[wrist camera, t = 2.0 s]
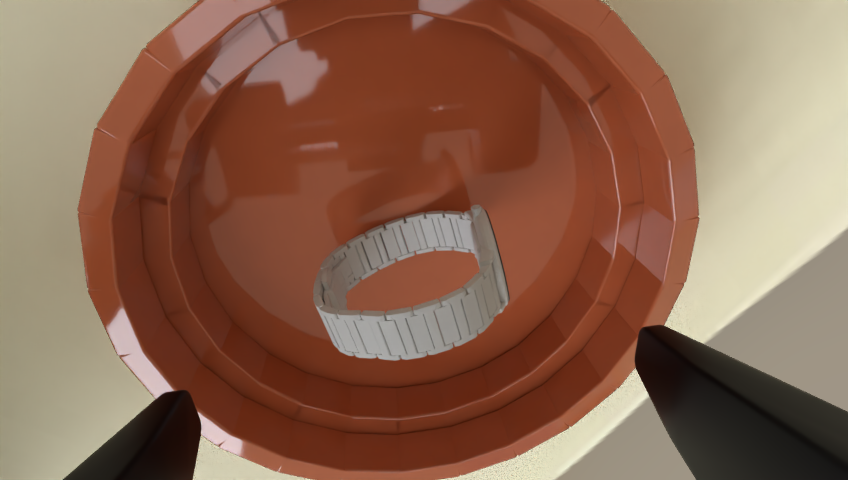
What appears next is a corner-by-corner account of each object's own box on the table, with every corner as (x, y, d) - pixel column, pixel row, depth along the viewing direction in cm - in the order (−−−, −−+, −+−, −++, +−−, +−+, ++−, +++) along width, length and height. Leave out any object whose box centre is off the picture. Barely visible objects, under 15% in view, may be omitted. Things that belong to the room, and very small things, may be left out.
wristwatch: (486, 250, 16) (537, 347, 11) (342, 293, 16) (335, 407, 11) (467, 170, 14) (516, 245, 10) (310, 217, 14) (288, 312, 10)
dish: (604, 376, 19) (651, 447, 16) (221, 431, 18) (192, 519, 15) (665, -67, 12) (766, -91, 9) (51, -25, 11) (-66, -36, 8)
